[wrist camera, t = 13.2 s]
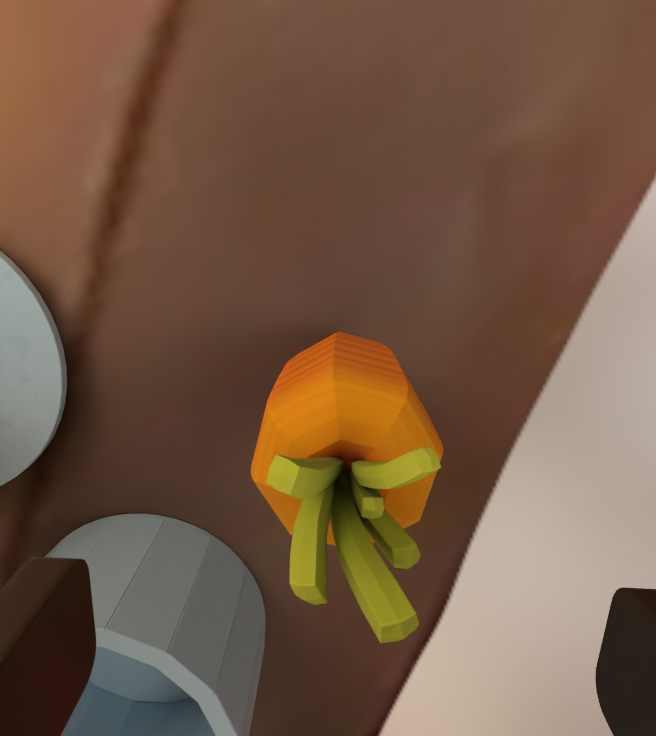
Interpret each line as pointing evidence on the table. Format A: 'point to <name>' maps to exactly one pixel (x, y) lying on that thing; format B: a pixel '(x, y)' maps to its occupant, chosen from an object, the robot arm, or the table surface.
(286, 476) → the carrot
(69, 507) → the table surface
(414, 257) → the table surface
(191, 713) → the pot
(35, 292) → the lid
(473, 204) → the table surface
